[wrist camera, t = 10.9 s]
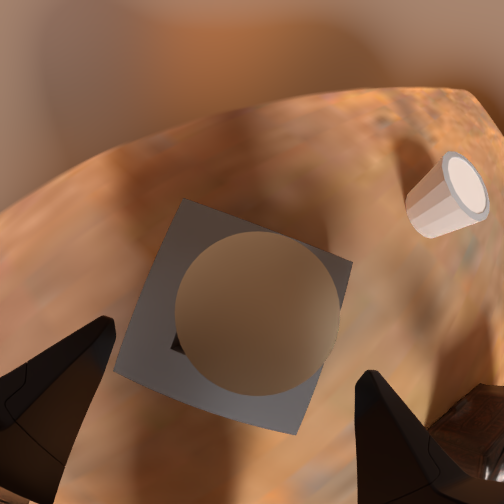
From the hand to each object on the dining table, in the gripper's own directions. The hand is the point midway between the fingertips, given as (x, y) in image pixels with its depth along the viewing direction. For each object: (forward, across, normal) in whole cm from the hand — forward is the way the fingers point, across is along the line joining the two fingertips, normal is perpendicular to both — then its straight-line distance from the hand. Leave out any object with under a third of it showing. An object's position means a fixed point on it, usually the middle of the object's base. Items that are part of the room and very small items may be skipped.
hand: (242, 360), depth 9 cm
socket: (+9, 0, +7) cm, 12 cm away
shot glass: (+19, -17, -3) cm, 26 cm away
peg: (+9, 0, +7) cm, 12 cm away
